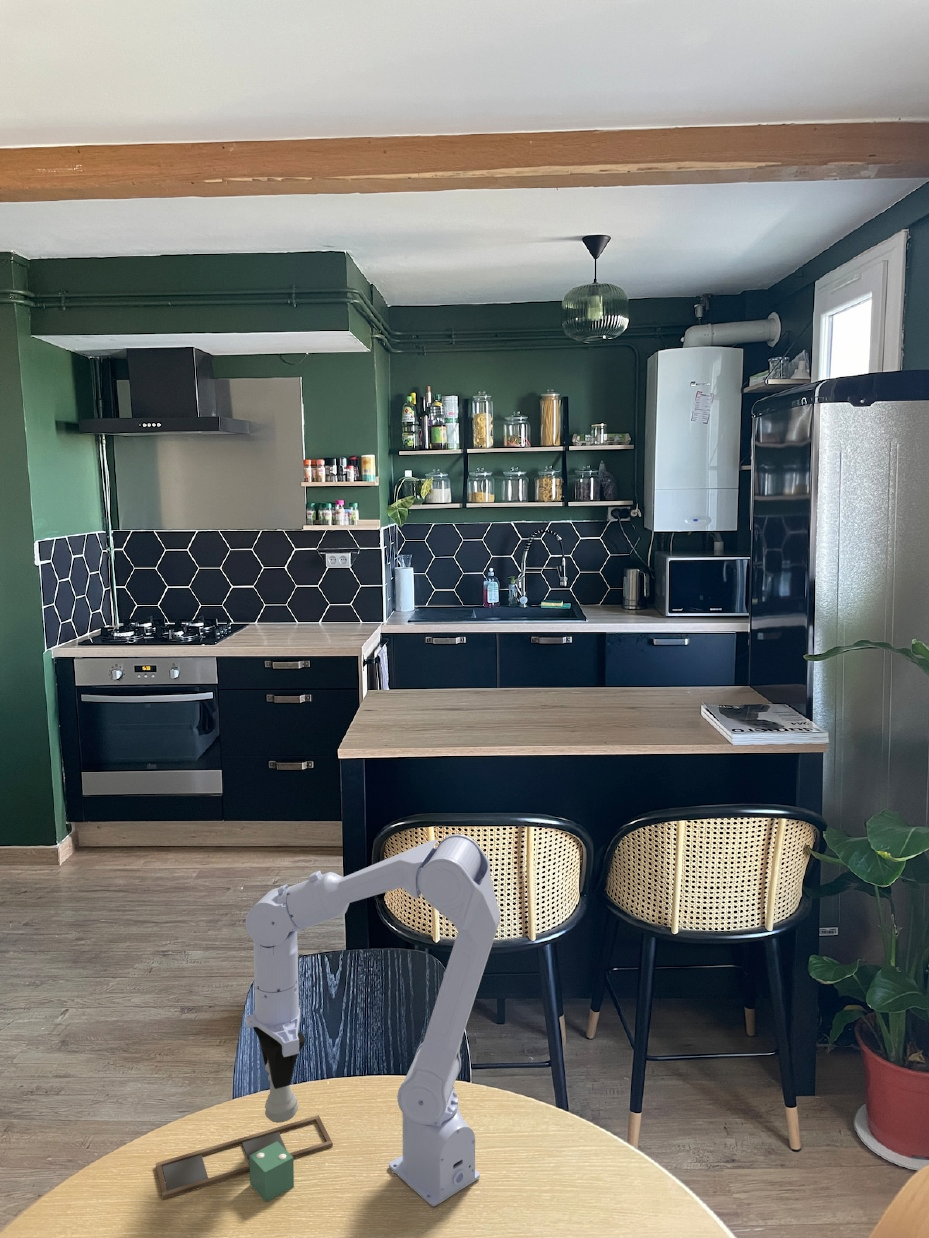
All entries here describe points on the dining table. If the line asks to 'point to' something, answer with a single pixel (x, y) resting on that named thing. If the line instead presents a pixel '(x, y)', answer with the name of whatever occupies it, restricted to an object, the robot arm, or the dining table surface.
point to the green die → (271, 1171)
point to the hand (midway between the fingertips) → (278, 1077)
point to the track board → (190, 1167)
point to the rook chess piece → (280, 1102)
